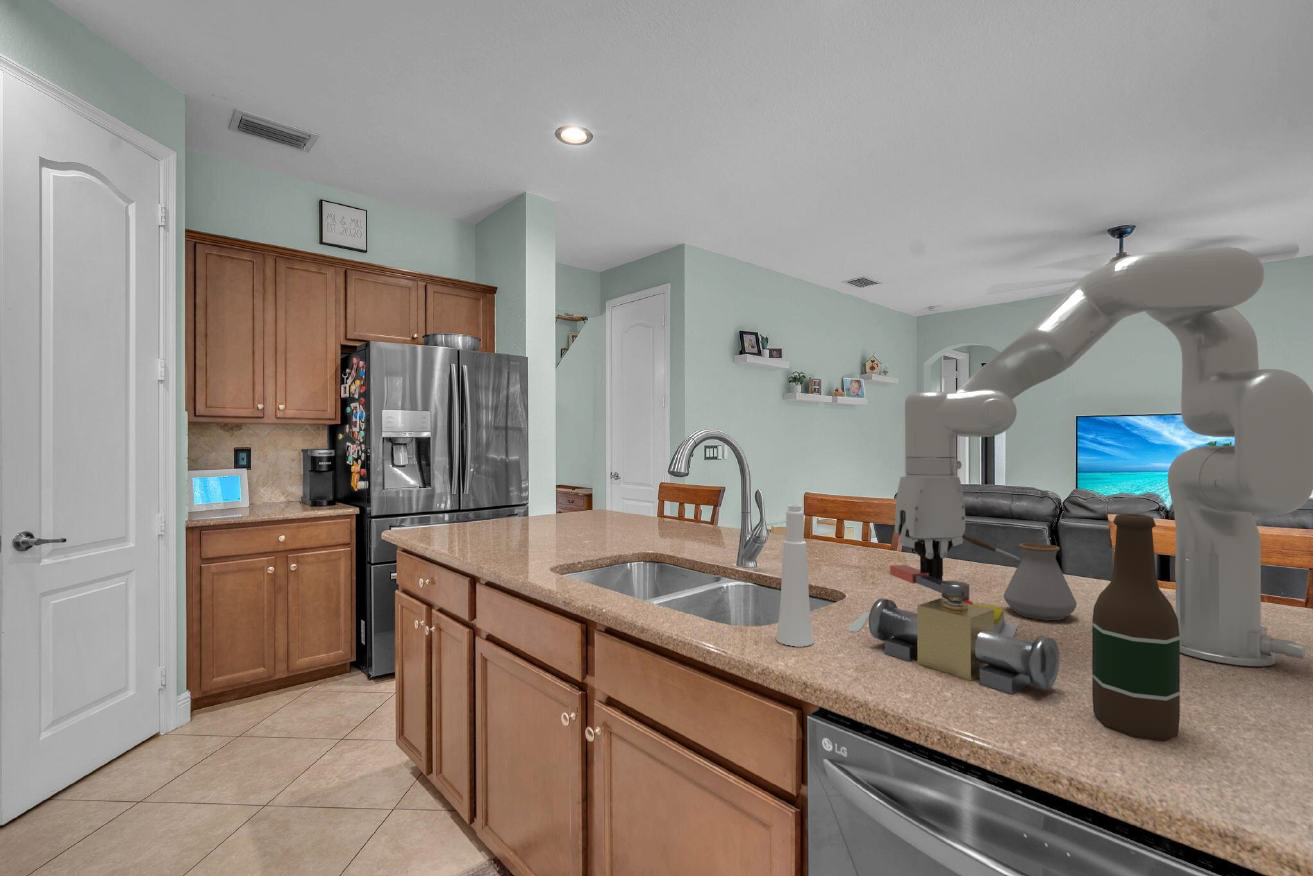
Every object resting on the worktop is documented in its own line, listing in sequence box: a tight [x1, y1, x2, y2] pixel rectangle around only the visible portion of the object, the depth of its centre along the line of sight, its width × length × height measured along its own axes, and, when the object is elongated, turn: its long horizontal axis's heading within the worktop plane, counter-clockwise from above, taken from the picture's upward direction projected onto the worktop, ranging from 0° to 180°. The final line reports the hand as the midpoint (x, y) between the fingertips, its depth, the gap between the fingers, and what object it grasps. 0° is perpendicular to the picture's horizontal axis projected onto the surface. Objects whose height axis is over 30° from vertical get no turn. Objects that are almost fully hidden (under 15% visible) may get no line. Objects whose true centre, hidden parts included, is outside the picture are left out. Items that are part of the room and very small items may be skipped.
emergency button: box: [934, 598, 1019, 637], centre depth 105 cm, size 9×4×15 cm
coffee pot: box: [962, 533, 1077, 621], centre depth 113 cm, size 21×12×15 cm, turn 61°
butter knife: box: [847, 611, 870, 633], centre depth 113 cm, size 1×27×3 cm
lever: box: [889, 564, 970, 601], centre depth 92 cm, size 4×16×2 cm, turn 9°
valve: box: [868, 597, 1060, 695], centre depth 85 cm, size 24×7×10 cm, turn 37°
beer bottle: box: [1091, 513, 1181, 742], centre depth 68 cm, size 8×8×24 cm
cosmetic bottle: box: [775, 504, 815, 648], centre depth 96 cm, size 6×6×22 cm
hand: (931, 581), depth 96 cm, fingers closed
